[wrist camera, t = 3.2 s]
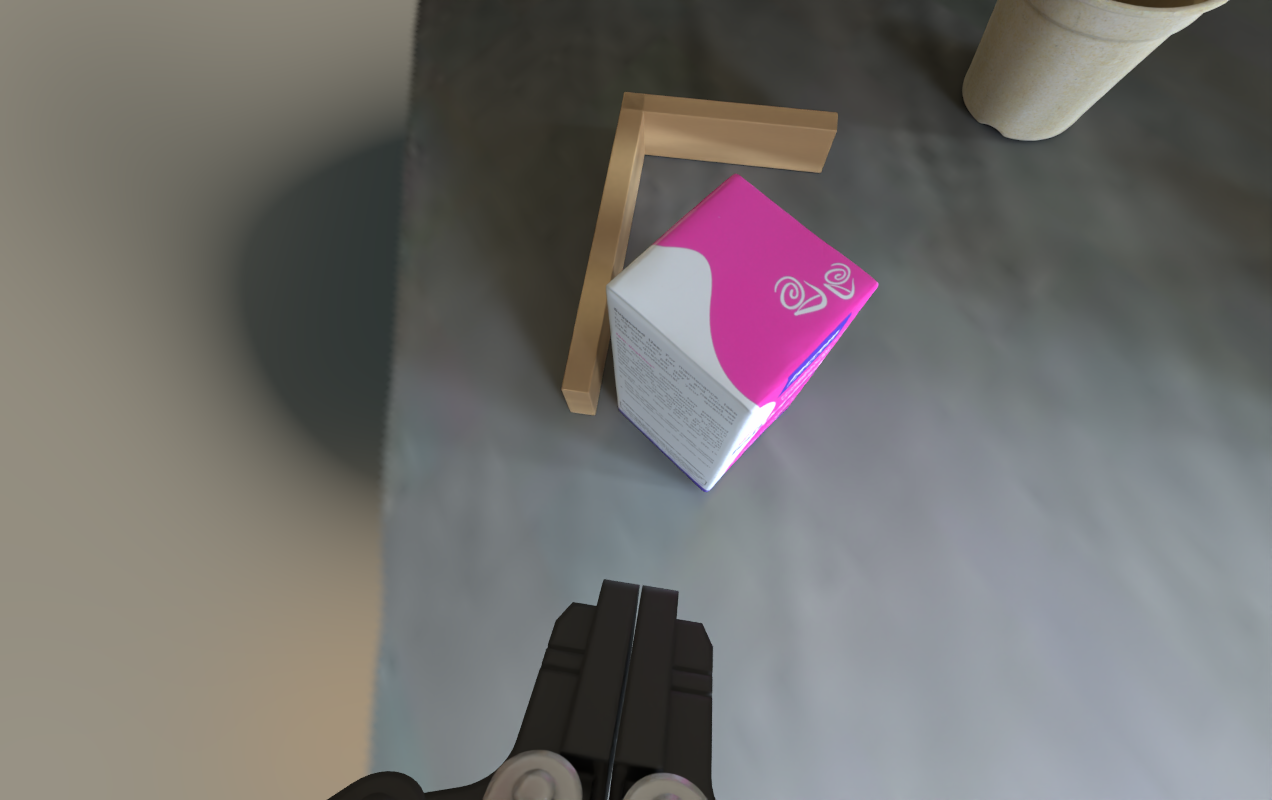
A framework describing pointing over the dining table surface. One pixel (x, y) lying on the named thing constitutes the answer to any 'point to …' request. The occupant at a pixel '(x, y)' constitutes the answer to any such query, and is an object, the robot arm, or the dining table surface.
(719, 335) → the supplement box
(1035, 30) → the flower pot
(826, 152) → the corner fence
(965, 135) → the dining table surface
